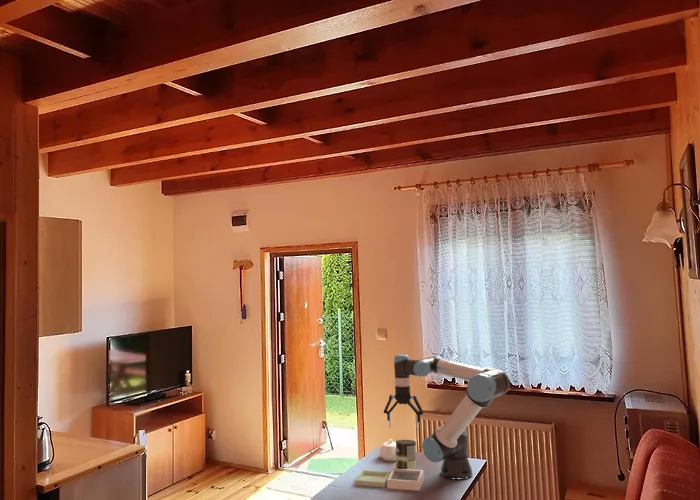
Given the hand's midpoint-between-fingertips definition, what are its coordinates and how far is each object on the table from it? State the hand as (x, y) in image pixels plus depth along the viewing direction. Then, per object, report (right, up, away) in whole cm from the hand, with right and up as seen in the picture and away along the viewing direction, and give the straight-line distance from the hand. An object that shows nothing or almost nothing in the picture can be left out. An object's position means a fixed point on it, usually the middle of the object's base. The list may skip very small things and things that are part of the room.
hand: (404, 427), depth 268 cm
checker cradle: (-1, -21, -16) cm, 27 cm away
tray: (-16, -22, -12) cm, 30 cm away
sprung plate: (-1, -19, -16) cm, 25 cm away
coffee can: (+1, -22, -1) cm, 22 cm away
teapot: (-5, -24, +19) cm, 31 cm away
